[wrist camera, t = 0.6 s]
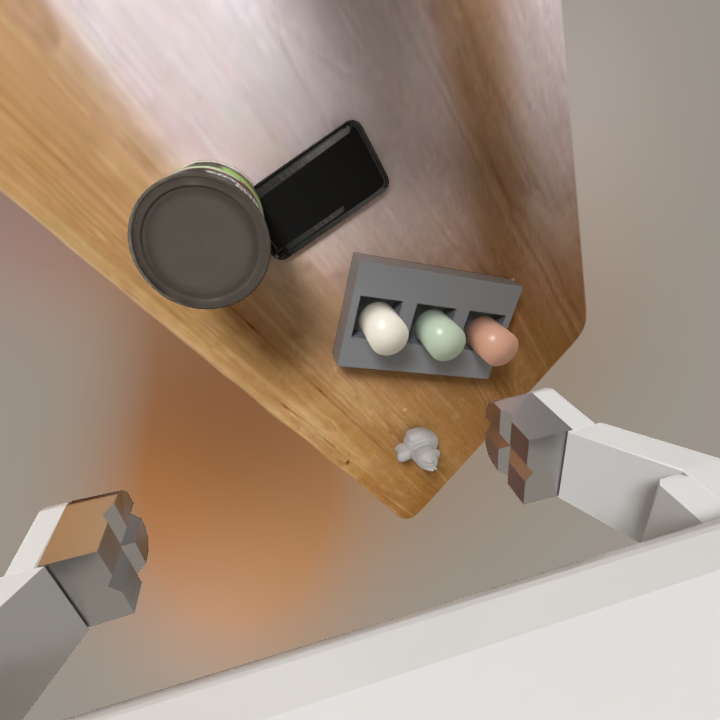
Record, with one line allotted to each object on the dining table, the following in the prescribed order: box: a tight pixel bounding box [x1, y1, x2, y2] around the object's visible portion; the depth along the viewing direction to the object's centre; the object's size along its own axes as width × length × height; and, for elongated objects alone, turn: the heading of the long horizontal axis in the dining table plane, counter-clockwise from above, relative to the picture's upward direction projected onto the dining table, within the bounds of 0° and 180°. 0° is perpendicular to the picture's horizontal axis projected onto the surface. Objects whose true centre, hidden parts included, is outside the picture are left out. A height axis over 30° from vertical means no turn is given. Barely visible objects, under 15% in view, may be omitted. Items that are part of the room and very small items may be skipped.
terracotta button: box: [465, 316, 518, 366], centre depth 54 cm, size 4×4×5 cm
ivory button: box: [359, 302, 409, 356], centre depth 49 cm, size 4×4×5 cm
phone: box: [254, 120, 389, 260], centre depth 47 cm, size 8×1×15 cm
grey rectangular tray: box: [333, 252, 523, 379], centre depth 55 cm, size 13×21×4 cm, turn 78°
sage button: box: [414, 309, 466, 361], centre depth 51 cm, size 4×4×5 cm
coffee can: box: [128, 160, 271, 309], centre depth 40 cm, size 10×10×14 cm
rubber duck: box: [395, 427, 440, 471], centre depth 62 cm, size 5×7×8 cm
